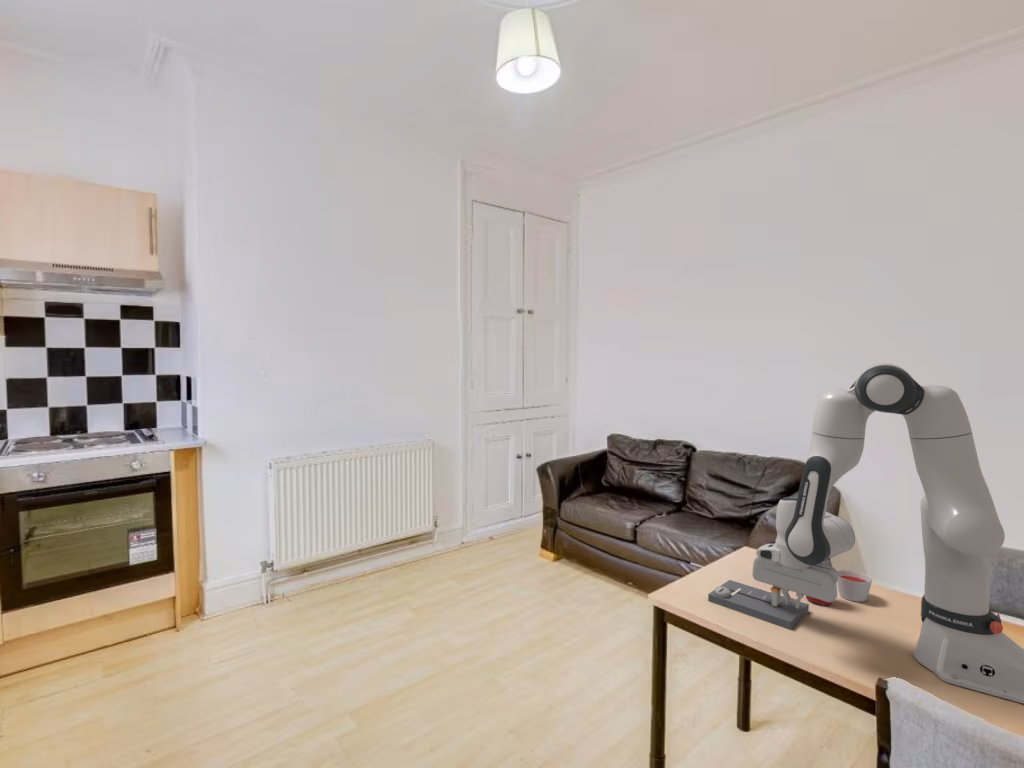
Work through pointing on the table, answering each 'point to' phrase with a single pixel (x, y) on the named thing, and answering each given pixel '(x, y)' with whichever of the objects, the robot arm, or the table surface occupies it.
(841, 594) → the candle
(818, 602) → the beer can
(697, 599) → the table surface
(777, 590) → the fader
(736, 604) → the console
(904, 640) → the table surface
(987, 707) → the table surface
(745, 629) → the table surface
